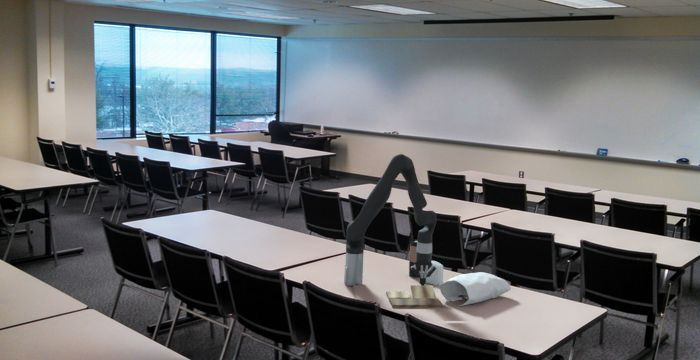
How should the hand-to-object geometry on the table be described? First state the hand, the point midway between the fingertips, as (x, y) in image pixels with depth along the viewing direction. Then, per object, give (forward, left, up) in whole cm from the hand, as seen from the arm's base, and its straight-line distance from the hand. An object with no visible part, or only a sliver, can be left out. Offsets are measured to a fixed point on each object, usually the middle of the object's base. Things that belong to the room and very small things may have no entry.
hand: (422, 285), depth 315 cm
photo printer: (+11, +22, -7) cm, 26 cm away
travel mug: (+4, +36, -7) cm, 37 cm away
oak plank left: (-12, -2, -6) cm, 13 cm away
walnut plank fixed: (-6, -12, -6) cm, 14 cm away
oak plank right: (0, -3, -4) cm, 5 cm away
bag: (+26, -2, -7) cm, 27 cm away
